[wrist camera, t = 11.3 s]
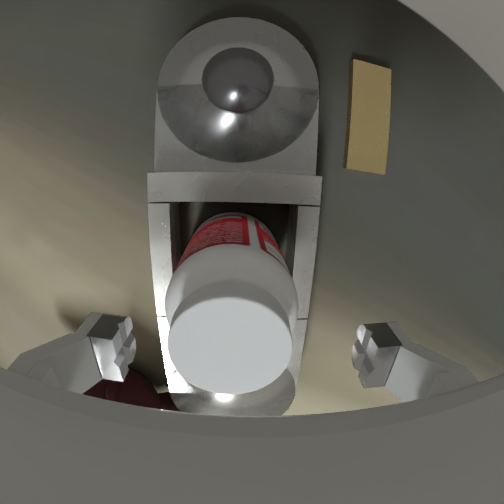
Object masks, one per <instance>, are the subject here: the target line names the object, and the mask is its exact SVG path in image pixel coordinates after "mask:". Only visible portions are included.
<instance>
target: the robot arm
mask: <svg viewBox="0 0 504 504" xmlns="http://www.w3.org/2000/svg"><path fill="white" fill-rule="evenodd" d="M132 328H133V325H132V320H131V318H130V317H128V316H120V315H113V314H105V313H99V312H91V314H90V315H89V316H88V317H87V318H86V319H85V321H84V322H83V323H82V324H81V325H80V327H79V328H78V329H77V330H76V331H75V333H74V334H67V335H65V336H63V337H60V338H58V339H55V340H53V341H51V342H48V343H46V344H43V345H41V346H38V347H36V348H34V349H31V350H29V351H26V352H24V353H21V354H20V355H19V356H18V358H17V359H16V360H15V361H14V362H13V363H12V364H11V366H10V367H9V368H8V369H7V370H6V369H4V368H1V367H0V504H504V374H502V375H499V376H496V377H494V378H491V379H488V380H485V381H482V382H479V381H478V380H477V378H476V377H475V376H474V375H473V374H472V372H471V371H470V370H469V369H468V367H467V366H464V365H462V364H460V363H458V362H456V361H454V360H452V359H450V358H447V357H445V356H443V355H441V354H439V353H437V352H435V351H433V350H430V349H428V348H426V347H424V346H422V345H420V344H415V343H414V342H413V340H412V339H411V338H410V337H409V335H408V334H407V333H406V332H405V330H404V329H403V328H402V327H401V325H400V324H399V323H398V322H396V321H395V322H385V323H374V324H360V325H359V327H358V329H357V333H356V335H357V337H358V340H357V341H356V342H355V343H354V344H353V348H352V363H353V366H354V368H355V369H357V370H358V371H360V372H359V375H358V377H359V379H360V381H361V383H362V386H363V388H372V387H382V386H385V388H386V389H387V390H389V391H390V392H391V393H393V394H394V395H395V396H396V397H398V398H399V399H400V400H401V401H403V403H398V404H392V405H387V406H381V407H375V408H368V409H361V410H353V411H345V412H335V413H324V414H310V415H291V416H231V415H212V414H199V413H188V412H178V411H170V410H162V409H155V408H148V407H142V406H136V405H130V404H125V403H119V402H114V401H110V400H105V399H100V398H96V397H92V396H88V395H84V394H83V393H84V392H85V391H87V390H88V389H90V388H91V387H92V386H94V385H95V384H97V383H98V382H99V381H101V380H102V379H108V380H114V381H121V382H123V381H124V379H125V377H126V375H127V373H128V371H129V368H128V364H130V363H132V362H133V360H134V358H135V353H136V341H135V337H134V336H133V335H132V334H131V330H132Z"/></svg>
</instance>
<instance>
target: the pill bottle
mask: <svg viewBox="0 0 504 504" xmlns="http://www.w3.org/2000/svg"><path fill="white" fill-rule="evenodd" d="M298 310H299V304H298V295H297V291H296V288H295V284H294V282H293V279H292V277H291V275H290V272H289V270H288V268H287V265H286V263H285V261H284V259H283V257H282V254H281V252H280V250H279V247H278V245H277V243H276V240H275V238H274V236H273V235H272V233H271V232H270V230H269V229H268V228H267V227H266V226H265V225H264V224H263V223H262V222H261V221H259V220H258V219H256V218H254V217H252V216H250V215H247V214H244V213H238V212H227V213H221V214H218V215H215V216H213V217H211V218H209V219H208V220H206V221H205V222H204V223H203V224H201V225H200V226H199V227H198V229H197V230H196V231H195V233H194V234H193V236H192V238H191V240H190V242H189V244H188V246H187V247H186V249H185V251H184V253H183V255H182V257H181V259H180V261H179V263H178V265H177V267H176V269H175V271H174V273H173V275H172V278H171V280H170V282H169V285H168V288H167V292H166V296H165V314H166V318H167V322H168V325H169V327H170V329H169V332H168V337H167V349H168V354H169V357H170V360H171V362H172V364H173V366H174V367H175V369H176V370H177V371H178V373H179V374H180V375H181V376H182V377H183V378H185V379H186V380H187V381H188V382H190V383H191V384H193V385H195V386H196V387H199V388H201V389H203V390H206V391H210V392H214V393H219V394H243V393H248V392H252V391H255V390H258V389H261V388H263V387H265V386H267V385H268V384H270V383H272V382H273V381H274V380H276V379H277V378H278V377H279V376H280V375H281V374H282V373H283V372H284V370H285V369H286V368H287V366H288V364H289V362H290V359H291V356H292V351H293V339H292V334H291V333H292V331H293V329H294V327H295V324H296V321H297V317H298Z"/></svg>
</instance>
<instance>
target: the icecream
mask: <svg viewBox="0 0 504 504" xmlns="http://www.w3.org/2000/svg"><path fill="white" fill-rule="evenodd" d="M83 394H84V395H88V396H92V397H96V398H100V399H105V400H110V401H114V402H119V403H125V404H130V405H136V406H142V407H148V408H155V409H162V410H170V411H178V412H181V411H180V410H179V409H178V408H177V406H176V405H175V404H174V402H173V400H172V398H171V395H170V392H165V393H159V394H158V393H157V391H156V390H155V388H154V387H153V385H152V383H150V382H149V381H148V380H147V379H146V378H145V377H144V376H143V375H141V374H139V373H137V372H135V371H134V370H132V369H129V371H128V373H127V375H126V377H125V379H124V381H123V382H121V381H114V380H108V379H102V380H101V381H99V382H98V383H97V384H95V385H94V386H92V387H91V388H90V389H88V390H87V391H85V392H84V393H83Z"/></svg>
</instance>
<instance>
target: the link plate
mask: <svg viewBox="0 0 504 504" xmlns="http://www.w3.org/2000/svg"><path fill="white" fill-rule="evenodd" d="M390 103H391V69H388V68H385V67H381V66H378V65H375V64H371V63H368V62H364V61H360V60H356V59H352V60H351V61H350V69H349V95H348V112H347V127H346V139H345V151H344V161H343V168H347V169H354V170H360V171H366V172H372V173H377V174H383V175H385V170H386V160H387V150H388V138H389V124H390Z"/></svg>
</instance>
